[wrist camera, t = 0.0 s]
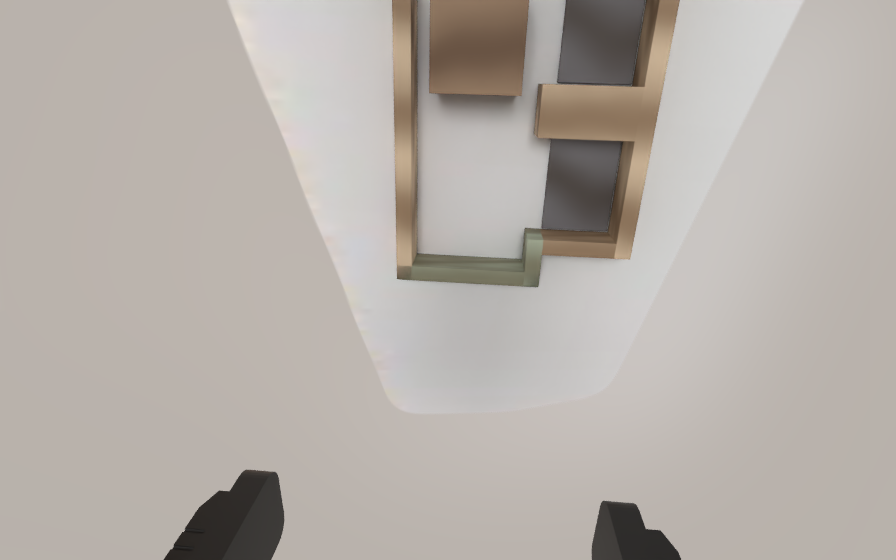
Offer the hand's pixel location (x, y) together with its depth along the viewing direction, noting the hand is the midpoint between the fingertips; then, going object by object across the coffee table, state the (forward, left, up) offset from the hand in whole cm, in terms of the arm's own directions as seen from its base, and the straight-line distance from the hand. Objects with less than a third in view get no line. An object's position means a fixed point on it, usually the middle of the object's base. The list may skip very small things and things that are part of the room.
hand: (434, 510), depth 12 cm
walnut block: (-12, 0, -30) cm, 32 cm away
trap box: (-8, +3, -29) cm, 31 cm away
